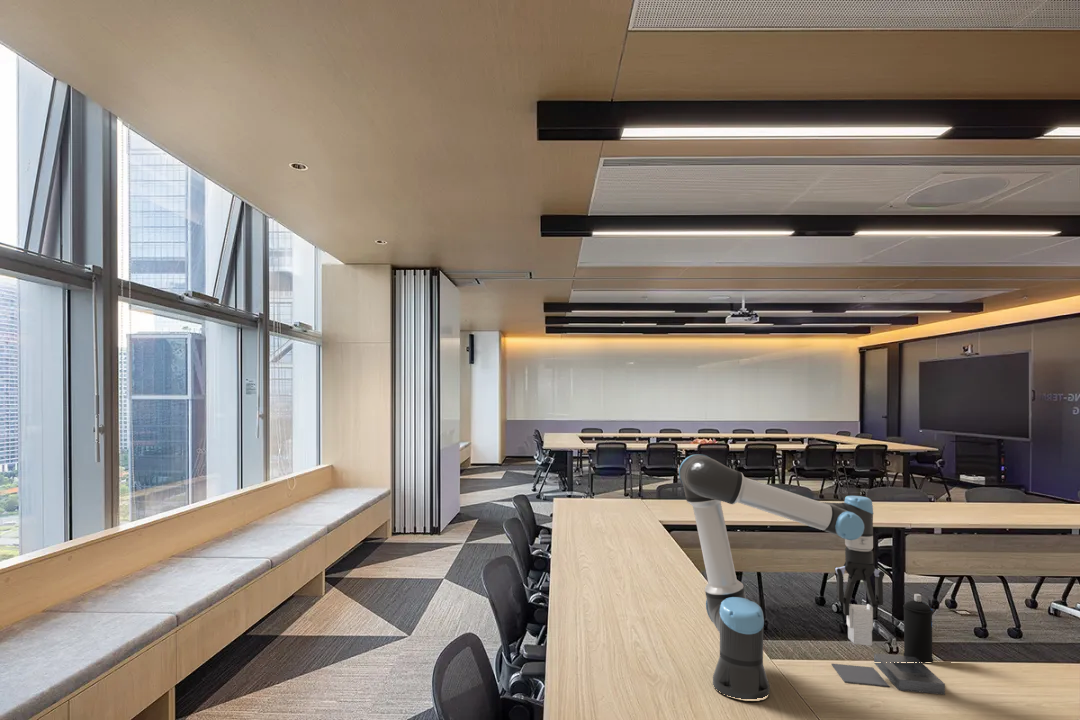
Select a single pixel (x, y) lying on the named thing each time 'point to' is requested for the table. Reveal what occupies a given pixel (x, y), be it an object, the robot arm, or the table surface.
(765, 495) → the robot arm
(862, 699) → the table surface
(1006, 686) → the table surface
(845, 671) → the rubber pad
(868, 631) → the rectangular peg block
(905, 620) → the aerosol can
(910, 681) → the square hole plate
